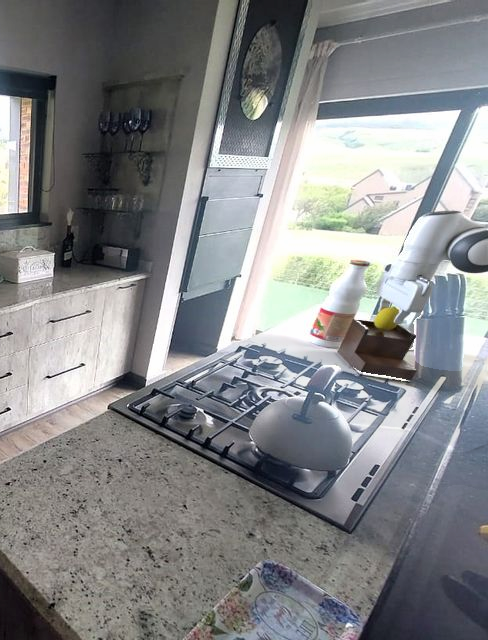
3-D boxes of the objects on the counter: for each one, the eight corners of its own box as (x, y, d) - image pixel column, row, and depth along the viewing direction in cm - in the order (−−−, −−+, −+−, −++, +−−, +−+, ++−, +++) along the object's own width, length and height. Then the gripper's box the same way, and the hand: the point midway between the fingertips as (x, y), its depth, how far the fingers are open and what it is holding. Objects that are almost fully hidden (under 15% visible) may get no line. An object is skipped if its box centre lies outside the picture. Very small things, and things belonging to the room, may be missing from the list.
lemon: (376, 327, 126) (389, 302, 122) (397, 333, 122) (411, 308, 118) (365, 329, 124) (377, 304, 121) (385, 336, 120) (399, 310, 116)
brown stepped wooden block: (381, 357, 130) (400, 324, 125) (409, 382, 115) (431, 345, 110) (337, 351, 134) (353, 318, 128) (358, 374, 119) (377, 338, 113)
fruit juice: (335, 350, 134) (376, 266, 121) (303, 341, 141) (338, 260, 127) (343, 344, 140) (383, 262, 126) (311, 335, 146) (346, 256, 133)
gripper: (448, 281, 105) (420, 331, 111) (408, 265, 122) (386, 309, 128) (417, 279, 107) (391, 327, 113) (382, 263, 124) (362, 306, 130)
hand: (388, 317), depth 121 cm, fingers open, 8 cm apart
